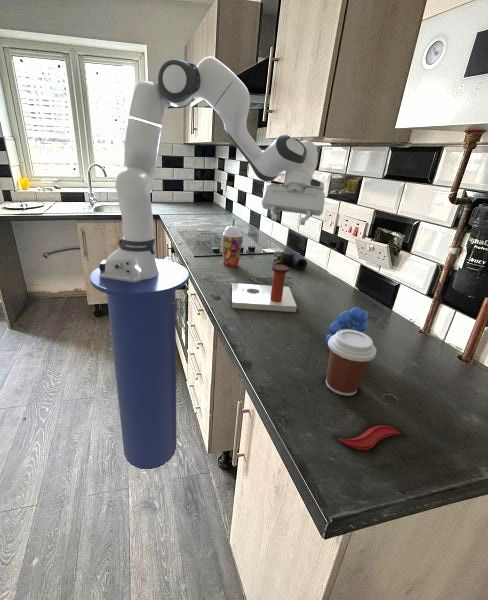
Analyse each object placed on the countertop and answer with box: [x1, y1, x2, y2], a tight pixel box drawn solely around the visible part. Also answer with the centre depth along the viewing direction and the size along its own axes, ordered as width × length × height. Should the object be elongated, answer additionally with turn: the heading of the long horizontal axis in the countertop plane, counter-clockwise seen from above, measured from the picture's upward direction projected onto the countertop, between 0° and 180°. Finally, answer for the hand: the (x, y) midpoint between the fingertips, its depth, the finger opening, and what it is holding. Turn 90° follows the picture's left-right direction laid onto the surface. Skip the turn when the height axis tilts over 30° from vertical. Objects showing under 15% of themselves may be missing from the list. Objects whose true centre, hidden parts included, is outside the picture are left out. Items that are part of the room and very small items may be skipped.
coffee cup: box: [325, 329, 378, 397], centre depth 67 cm, size 9×9×12 cm
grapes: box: [325, 306, 369, 345], centre depth 80 cm, size 12×7×12 cm, turn 109°
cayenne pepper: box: [337, 424, 401, 451], centre depth 56 cm, size 12×5×2 cm, turn 93°
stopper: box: [270, 264, 290, 302], centre depth 101 cm, size 5×5×11 cm
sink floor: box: [231, 283, 298, 313], centre depth 108 cm, size 20×16×2 cm
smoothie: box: [222, 218, 244, 269], centre depth 134 cm, size 8×8×20 cm
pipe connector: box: [272, 248, 308, 271], centre depth 141 cm, size 12×5×15 cm
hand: (287, 221), depth 105 cm, fingers open, 8 cm apart
